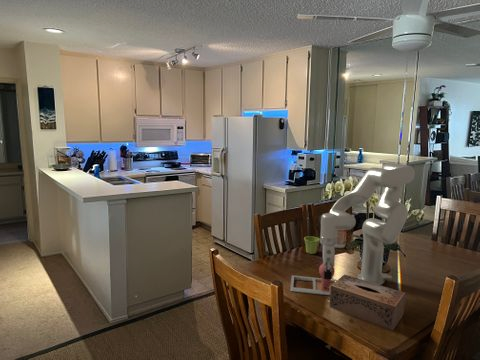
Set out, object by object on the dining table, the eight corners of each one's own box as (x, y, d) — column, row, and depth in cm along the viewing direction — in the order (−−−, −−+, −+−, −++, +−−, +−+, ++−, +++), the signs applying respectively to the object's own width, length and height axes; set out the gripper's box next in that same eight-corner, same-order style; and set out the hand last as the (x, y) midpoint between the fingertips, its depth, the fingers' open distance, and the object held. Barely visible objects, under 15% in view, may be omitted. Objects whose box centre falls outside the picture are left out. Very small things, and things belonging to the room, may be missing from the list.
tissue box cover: (403, 315, 141) (405, 292, 139) (392, 331, 130) (395, 306, 128) (343, 295, 157) (344, 274, 155) (329, 307, 146) (330, 285, 144)
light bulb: (330, 292, 158) (332, 267, 156) (315, 288, 161) (317, 264, 160) (335, 286, 164) (336, 262, 162) (320, 282, 167) (322, 259, 166)
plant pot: (303, 249, 213) (303, 235, 212) (318, 250, 212) (319, 236, 211) (303, 254, 204) (304, 240, 203) (319, 255, 203) (320, 241, 202)
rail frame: (336, 282, 168) (336, 279, 168) (339, 296, 155) (339, 293, 154) (291, 278, 172) (291, 275, 172) (290, 291, 159) (290, 288, 159)
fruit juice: (327, 243, 224) (330, 202, 220) (340, 242, 226) (343, 201, 222) (334, 248, 215) (337, 205, 211) (348, 247, 217) (351, 204, 213)
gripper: (338, 247, 150) (336, 283, 153) (335, 234, 166) (333, 267, 169) (321, 245, 151) (319, 282, 154) (319, 233, 168) (318, 266, 171)
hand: (327, 274), depth 162 cm, fingers open, 9 cm apart
